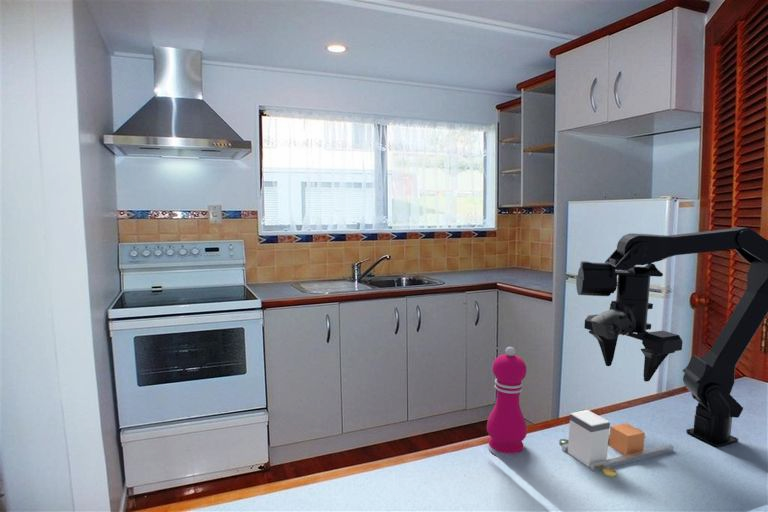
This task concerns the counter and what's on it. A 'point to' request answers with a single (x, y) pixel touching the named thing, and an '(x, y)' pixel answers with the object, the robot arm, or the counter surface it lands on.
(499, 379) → the pepper mill
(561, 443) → the panel
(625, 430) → the orange cube
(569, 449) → the plate
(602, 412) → the counter surface
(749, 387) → the counter surface
